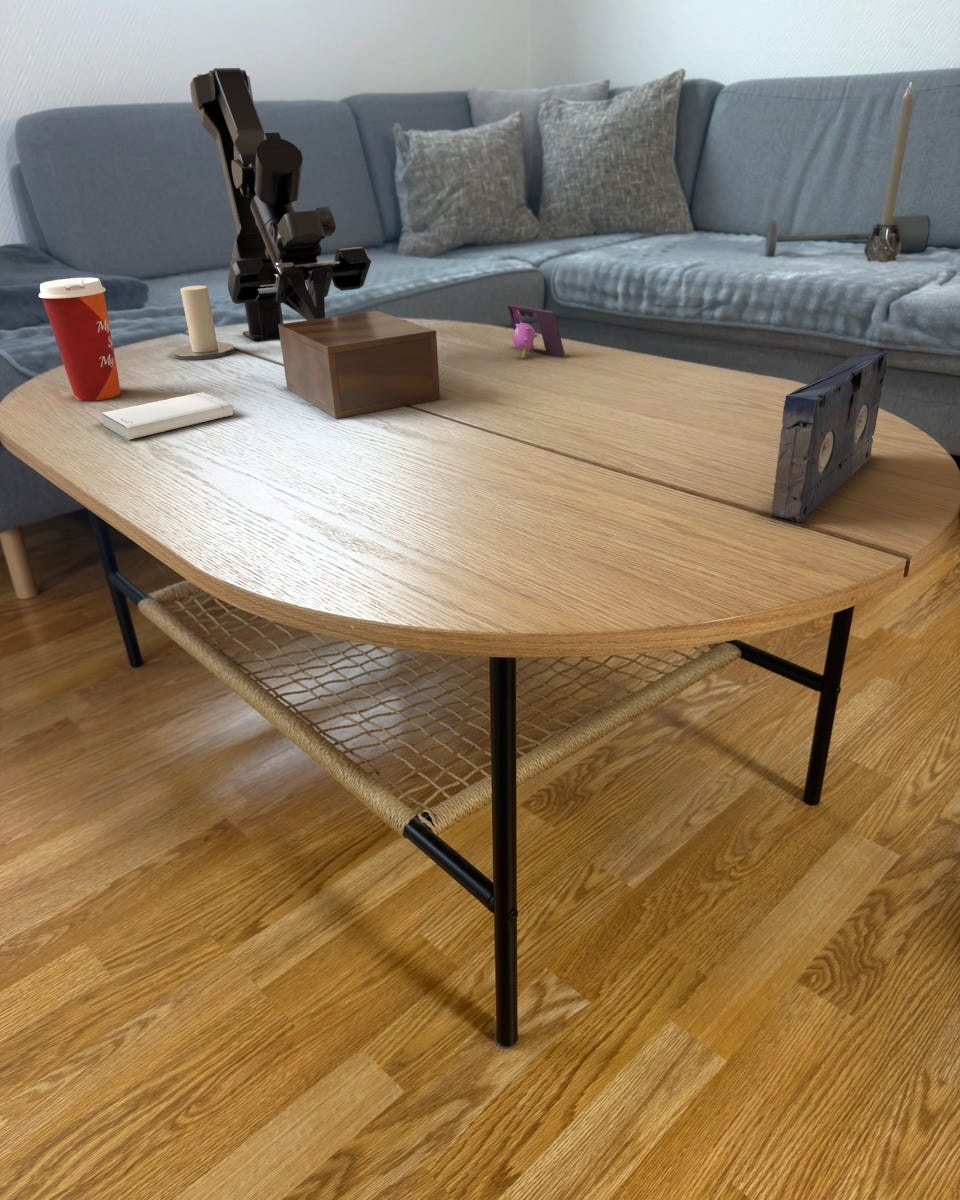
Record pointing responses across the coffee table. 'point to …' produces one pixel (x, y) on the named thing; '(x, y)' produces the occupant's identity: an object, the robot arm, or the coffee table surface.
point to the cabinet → (360, 362)
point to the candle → (199, 318)
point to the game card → (526, 333)
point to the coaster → (188, 354)
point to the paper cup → (83, 336)
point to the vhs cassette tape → (827, 433)
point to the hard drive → (166, 415)
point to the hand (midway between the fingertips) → (322, 327)
